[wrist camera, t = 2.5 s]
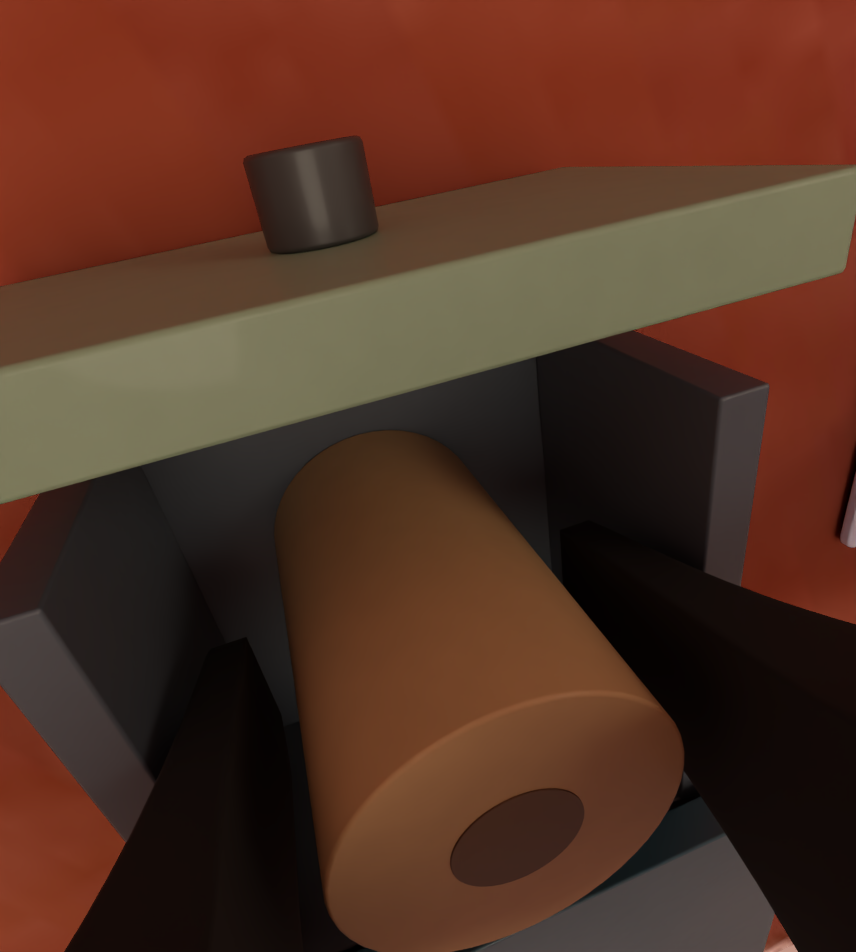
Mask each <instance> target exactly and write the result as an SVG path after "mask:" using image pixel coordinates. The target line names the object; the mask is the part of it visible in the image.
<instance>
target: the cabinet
mask: <svg viewBox="0 0 856 952" xmlns="http://www.w3.org/2000/svg"><path fill="white" fill-rule="evenodd" d="M774 914H775V913H774V911H773V909H772V908H771V906H770V904H769V903H768V901H767V899H766V898H765V896H764V894H763V893H762V891H761V889H760V888H759V886H758V884H757V883H756V881H755V880H754V878H753V877H752V875H751V873H750V872H749V870H748V869H747V867H746V865H745V864H744V862H743V861H742V859H741V858H740V856H739V854H738V853H737V851H736V850H735V848H734V847H733V845H732V843H731V842H730V840H729V839H728V837H727V835H726V834H725V832H724V831H723V829H722V828H721V826H720V825H719V823H718V822H717V820H716V819H715V817H714V815H713V814H712V812H711V811H710V809H709V808H708V806H707V805H706V803H705V802H704V800H703V799H702V797H701V796H700V797H698V798H696V799H693V800H691V801H689V802H687V803H685V804H682V805H680V806H678V807H676V808H673V809H671V810H669V811H667V813H666V815H665V816H664V818H663V819H662V821H661V823H660V824H659V825H658V827H657V828H656V829H655V831H654V832H653V833H652V835H651V836H650V837H649V839H648V840H647V841H646V842H645V843H644V844H643V845H642V846H641V848H640V849H639V850H638V851H637V852H636V853H635V854H634V855H633V856H632V857H631V858H630V859H629V860H628V861H627V862H626V863H625V864H624V865H623V866H622V867H621V868H619V869H618V870H617V871H616V872H615V873H614V874H612V875H611V876H610V877H609V878H608V879H606V880H605V881H604V882H603V883H601V884H600V885H599V886H597V887H596V888H595V889H593V890H592V891H591V892H589V893H588V894H586V895H585V896H583V897H582V898H580V899H579V900H577V901H576V902H574V903H573V904H571V905H570V906H568V907H566V908H565V909H563V910H561V911H559V912H558V913H556V914H554V915H552V916H551V917H549V918H547V919H545V920H543V921H541V922H539V923H537V924H535V925H533V926H530V927H528V928H526V929H524V930H521V931H519V932H517V933H514V934H512V935H509V936H506V937H504V938H501V939H498V940H495V941H492V942H489V943H486V944H482V945H479V946H475V947H472V948H467V949H463V950H458V951H453V952H763V951H764V948H765V944H766V941H767V937H768V934H769V931H770V927H771V924H772V921H773V917H774ZM356 952H378V951H375V950H372V949H369V948H366V947H365V948H363V949H360V950H358V951H356Z"/></svg>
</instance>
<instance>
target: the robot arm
mask: <svg viewBox="0 0 856 952" xmlns="http://www.w3.org/2000/svg"><path fill="white" fill-rule="evenodd" d="M840 541H841V543H843V544H845V545H846V546H848V547H851V548H853V547H856V473H855V477H854V481H853V485H852V489H851V493H850V497H849V501H848V505H847V509H846V513H845V517H844V522H843V526H842V530H841V534H840ZM560 543H561V560H562V577H563V586H564V587H565V589H566V590H567V591H568V592H569V593H570V595H571V596H572V597H573V598H574V600H575V601H576V602H577V603H578V604H579V606H580V607H581V608H582V609H583V611H584V612H585V613H586V614H587V615H588V617H589V618H590V619H591V620H592V622H593V623H594V624H595V625H596V627H597V628H598V629H599V630H600V631H601V633H602V634H603V635H604V636H605V638H606V639H607V640H608V641H609V642H610V644H611V645H612V646H613V647H614V649H615V650H616V651H617V652H618V653H619V655H620V656H621V657H622V658H623V660H624V661H625V662H626V663H627V664H628V666H629V667H630V668H631V669H632V671H633V672H634V673H635V674H636V675H637V677H638V678H639V679H640V680H641V682H642V683H643V684H644V685H645V686H646V688H647V689H648V690H649V691H650V693H651V694H652V695H653V696H654V697H655V699H656V700H657V701H658V702H659V704H660V705H661V706H662V707H663V709H664V710H665V711H666V712H667V713H668V715H669V716H670V717H671V718H672V720H673V721H674V722H675V724H676V726H677V728H678V730H679V732H680V734H681V738H682V742H683V747H684V769H683V771H684V772H685V773H686V775H687V776H688V778H689V779H690V781H691V782H692V784H693V785H694V787H695V788H696V790H697V791H698V793H699V794H700V796H701V797H702V799H703V800H704V802H705V803H706V805H707V806H708V808H709V809H710V811H711V812H712V814H713V815H714V817H715V819H716V820H717V822H718V823H719V825H720V826H721V828H722V829H723V831H724V832H725V834H726V835H727V837H728V839H729V840H730V842H731V843H732V845H733V847H734V848H735V850H736V851H737V853H738V854H739V856H740V858H741V859H742V861H743V862H744V864H745V865H746V867H747V869H748V870H749V872H750V873H751V875H752V877H753V878H754V880H755V881H756V883H757V884H758V886H759V888H760V889H761V891H762V893H763V894H764V896H765V898H766V899H767V901H768V903H769V904H770V906H771V908H772V909H773V911H774V913H775V914H776V916H777V918H778V919H779V921H780V923H781V924H782V926H783V928H784V929H785V931H786V933H787V934H788V936H789V937H790V939H791V941H792V942H793V944H794V946H795V947H796V949H797V951H798V952H856V624H852V623H849V622H845V621H842V620H838V619H835V618H831V617H828V616H825V615H822V614H819V613H816V612H812V611H809V610H806V609H803V608H800V607H797V606H793V605H790V604H787V603H784V602H781V601H778V600H775V599H773V598H770V597H767V596H764V595H761V594H759V593H756V592H754V591H751V590H748V589H746V588H743V587H740V586H738V585H735V584H733V583H730V582H727V581H725V580H722V579H720V578H717V577H715V576H713V575H710V574H708V573H705V572H703V571H701V570H698V569H696V568H694V567H691V566H689V565H687V564H684V563H682V562H680V561H678V560H675V559H673V558H671V557H669V556H666V555H664V554H662V553H660V552H658V551H655V550H653V549H651V548H649V547H647V546H645V545H642V544H640V543H638V542H636V541H634V540H632V539H630V538H627V537H625V536H623V535H621V534H619V533H617V532H614V531H612V530H610V529H608V528H606V527H603V526H601V525H599V524H597V523H594V522H592V521H590V520H587V521H585V522H582V523H579V524H576V525H573V526H570V527H567V528H564V529H561V530H560ZM64 952H304V951H303V942H302V932H301V921H300V910H299V892H298V875H297V857H296V840H295V822H294V806H293V790H292V775H291V767H290V761H289V755H288V749H287V743H286V737H285V732H284V726H283V721H282V715H281V712H280V710H279V708H278V706H277V704H276V701H275V699H274V697H273V695H272V692H271V690H270V688H269V686H268V684H267V681H266V679H265V677H264V675H263V673H262V670H261V668H260V666H259V664H258V661H257V659H256V657H255V655H254V653H253V650H252V648H251V646H250V644H249V641H248V639H247V637H244V638H241V639H238V640H235V641H232V642H229V643H226V644H223V645H220V646H217V647H215V648H212V649H210V650H209V652H208V654H207V655H206V657H205V660H204V663H203V666H202V669H201V671H200V674H199V677H198V680H197V683H196V685H195V688H194V691H193V693H192V696H191V699H190V701H189V704H188V706H187V709H186V712H185V714H184V717H183V719H182V722H181V724H180V727H179V729H178V731H177V734H176V736H175V739H174V741H173V743H172V746H171V748H170V750H169V753H168V755H167V757H166V760H165V762H164V764H163V767H162V769H161V771H160V774H159V776H158V778H157V780H156V782H155V784H154V786H153V789H152V791H151V793H150V795H149V797H148V799H147V801H146V803H145V805H144V807H143V809H142V811H141V814H140V816H139V818H138V820H137V822H136V824H135V826H134V828H133V830H132V832H131V834H130V836H129V838H128V840H127V842H126V844H125V846H124V848H123V850H122V852H121V853H120V855H119V857H118V859H117V861H116V863H115V865H114V867H113V869H112V870H111V872H110V874H109V876H108V878H107V880H106V881H105V883H104V885H103V887H102V888H101V890H100V892H99V894H98V896H97V897H96V899H95V901H94V903H93V904H92V906H91V908H90V910H89V911H88V913H87V915H86V917H85V918H84V920H83V922H82V924H81V925H80V927H79V928H78V930H77V932H76V933H75V935H74V937H73V938H72V940H71V942H70V943H69V945H68V946H67V948H66V950H65V951H64Z"/></svg>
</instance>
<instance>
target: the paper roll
mask: <svg viewBox="0 0 856 952" xmlns="http://www.w3.org/2000/svg"><path fill="white" fill-rule="evenodd" d="M274 539H275V548H276V555H277V562H278V569H279V577H280V584H281V591H282V598H283V606H284V613H285V620H286V628H287V635H288V642H289V649H290V657H291V664H292V671H293V678H294V686H295V693H296V700H297V708H298V715H299V722H300V729H301V737H302V744H303V751H304V758H305V766H306V773H307V780H308V787H309V795H310V802H311V809H312V817H313V824H314V831H315V838H316V846H317V853H318V860H319V867H320V875H321V882H322V889H323V897H324V903H325V905H326V908H327V911H328V913H329V916H330V918H331V919H332V921H333V922H334V923H335V925H336V926H337V928H338V929H339V930H340V931H341V932H342V933H343V934H344V935H345V936H347V937H348V938H349V939H350V940H352V941H354V942H356V943H358V944H359V945H361V946H363V947H366V948H369V949H372V950H375V951H378V952H453V951H458V950H463V949H467V948H472V947H475V946H479V945H482V944H486V943H489V942H492V941H495V940H498V939H501V938H504V937H506V936H509V935H512V934H514V933H517V932H519V931H521V930H524V929H526V928H528V927H530V926H533V925H535V924H537V923H539V922H541V921H543V920H545V919H547V918H549V917H551V916H552V915H554V914H556V913H558V912H559V911H561V910H563V909H565V908H566V907H568V906H570V905H571V904H573V903H574V902H576V901H577V900H579V899H580V898H582V897H583V896H585V895H586V894H588V893H589V892H591V891H592V890H593V889H595V888H596V887H597V886H599V885H600V884H601V883H603V882H604V881H605V880H606V879H608V878H609V877H610V876H611V875H612V874H614V873H615V872H616V871H617V870H618V869H619V868H621V867H622V866H623V865H624V864H625V863H626V862H627V861H628V860H629V859H630V858H631V857H632V856H633V855H634V854H635V853H636V852H637V851H638V850H639V849H640V848H641V846H642V845H643V844H644V843H645V842H646V841H647V840H648V839H649V837H650V836H651V835H652V833H653V832H654V831H655V829H656V828H657V827H658V825H659V824H660V823H661V821H662V819H663V818H664V816H665V815H666V813H667V811H668V810H669V808H670V806H671V804H672V802H673V800H674V798H675V796H676V794H677V791H678V788H679V785H680V782H681V779H682V774H683V769H684V747H683V742H682V738H681V734H680V732H679V730H678V728H677V726H676V724H675V722H674V721H673V720H672V718H671V717H670V716H669V715H668V713H667V712H666V711H665V710H664V709H663V707H662V706H661V705H660V704H659V702H658V701H657V700H656V699H655V697H654V696H653V695H652V694H651V693H650V691H649V690H648V689H647V688H646V686H645V685H644V684H643V683H642V682H641V680H640V679H639V678H638V677H637V675H636V674H635V673H634V672H633V671H632V669H631V668H630V667H629V666H628V664H627V663H626V662H625V661H624V660H623V658H622V657H621V656H620V655H619V653H618V652H617V651H616V650H615V649H614V647H613V646H612V645H611V644H610V642H609V641H608V640H607V639H606V638H605V636H604V635H603V634H602V633H601V631H600V630H599V629H598V628H597V627H596V625H595V624H594V623H593V622H592V620H591V619H590V618H589V617H588V615H587V614H586V613H585V612H584V611H583V609H582V608H581V607H580V606H579V604H578V603H577V602H576V601H575V600H574V598H573V597H572V596H571V595H570V593H569V592H568V591H567V590H566V589H565V587H564V586H563V585H562V584H561V582H560V581H559V580H558V579H557V578H556V576H555V575H554V574H553V573H552V571H551V570H550V569H549V568H548V567H547V565H546V564H545V563H544V562H543V560H542V559H541V558H540V557H539V556H538V554H537V553H536V552H535V551H534V549H533V548H532V547H531V546H530V544H529V543H528V542H527V541H526V540H525V538H524V537H523V536H522V535H521V533H520V532H519V531H518V530H517V529H516V527H515V526H514V525H513V524H512V522H511V521H510V520H509V519H508V518H507V516H506V515H505V514H504V513H503V511H502V510H501V509H500V508H499V507H498V505H497V504H496V503H495V502H494V500H493V499H492V498H491V497H490V496H489V494H488V493H487V492H486V491H485V489H484V488H483V487H482V486H481V485H480V483H479V482H478V481H477V480H476V478H475V477H474V476H473V475H472V473H471V472H470V471H469V470H468V469H467V467H466V466H465V465H464V464H463V462H462V461H461V460H460V459H459V458H458V456H456V455H455V454H454V453H453V452H452V451H451V450H450V449H449V448H447V447H446V446H444V445H442V444H441V443H439V442H438V441H435V440H433V439H431V438H429V437H427V436H423V435H420V434H417V433H412V432H406V431H395V430H384V431H374V432H368V433H364V434H359V435H356V436H353V437H350V438H347V439H344V440H342V441H340V442H338V443H336V444H334V445H332V446H330V447H328V448H327V449H325V450H324V451H322V452H321V453H319V454H318V455H316V456H315V457H314V458H313V459H312V460H310V461H309V462H308V463H307V464H306V465H305V466H304V467H303V468H302V469H301V470H300V471H299V472H298V473H297V475H296V476H295V477H294V479H293V480H292V481H291V483H290V484H289V486H288V487H287V489H286V491H285V493H284V495H283V497H282V499H281V502H280V504H279V507H278V510H277V514H276V519H275V527H274Z"/></svg>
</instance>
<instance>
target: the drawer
mask: <svg viewBox="0 0 856 952" xmlns="http://www.w3.org/2000/svg"><path fill="white" fill-rule="evenodd" d="M243 164H244V168H245V171H246V175H247V178H248V182H249V185H250V189H251V192H252V195H253V199H254V202H255V206H256V209H257V213H258V216H259V220H260V223H261V227H262V230H263V231H260V232H255V233H251V234H246V235H241V236H237V237H232V238H227V239H222V240H218V241H213V242H208V243H204V244H199V245H194V246H189V247H185V248H180V249H175V250H171V251H166V252H161V253H156V254H152V255H147V256H142V257H138V258H133V259H128V260H123V261H119V262H114V263H109V264H105V265H100V266H95V267H90V268H86V269H81V270H76V271H72V272H67V273H62V274H57V275H53V276H48V277H43V278H39V279H34V280H29V281H24V282H20V283H15V284H10V285H6V286H1V287H0V504H3V503H6V502H10V501H14V500H17V499H21V498H25V497H28V496H32V495H35V494H39V493H40V494H39V496H38V498H37V499H36V501H35V503H34V505H33V506H32V508H31V510H30V512H29V513H28V515H27V517H26V519H25V521H24V522H23V524H22V526H21V528H20V529H19V531H18V533H17V535H16V536H15V538H14V540H13V542H12V543H11V545H10V547H9V549H8V550H7V552H6V554H5V556H4V557H3V559H2V561H1V563H0V685H1V687H2V688H3V689H4V690H5V692H6V693H7V694H8V695H9V697H10V698H11V699H12V700H13V702H14V703H15V704H16V705H17V707H18V708H19V709H20V710H21V712H22V713H23V714H24V715H25V717H26V718H27V719H28V720H29V722H30V723H31V724H32V725H33V727H34V728H35V729H36V730H37V732H38V733H39V734H40V735H41V737H42V738H43V739H44V741H45V742H46V743H47V744H48V746H49V747H50V748H51V749H52V751H53V752H54V753H55V754H56V756H57V757H58V758H59V759H60V761H61V762H62V763H63V764H64V766H65V767H66V768H67V769H68V771H69V772H70V773H71V774H72V776H73V777H74V778H75V779H76V781H77V782H78V783H79V784H80V786H81V787H82V788H83V789H84V791H85V792H86V793H87V794H88V796H89V797H90V798H91V799H92V801H93V802H94V803H95V804H96V806H97V807H98V808H99V809H100V811H101V812H102V813H103V814H104V816H105V817H106V818H107V819H108V821H109V822H110V823H111V824H112V826H113V827H114V828H115V830H116V831H117V832H118V833H119V835H120V836H121V837H122V838H123V840H124V841H125V842H127V840H128V838H129V836H130V834H131V832H132V830H133V828H134V826H135V824H136V822H137V820H138V818H139V816H140V814H141V811H142V809H143V807H144V805H145V803H146V801H147V799H148V797H149V795H150V793H151V791H152V789H153V786H154V784H155V782H156V780H157V778H158V776H159V774H160V771H161V769H162V767H163V764H164V762H165V760H166V757H167V755H168V753H169V750H170V748H171V746H172V743H173V741H174V739H175V736H176V734H177V731H178V729H179V727H180V724H181V722H182V719H183V717H184V714H185V712H186V709H187V706H188V704H189V701H190V699H191V696H192V693H193V691H194V688H195V685H196V683H197V680H198V677H199V674H200V671H201V669H202V666H203V663H204V660H205V657H206V655H207V654H208V652H209V650H210V649H212V648H215V647H217V646H220V645H223V644H226V643H229V642H232V641H235V640H238V639H241V638H244V637H247V639H248V641H249V644H250V646H251V648H252V650H253V653H254V655H255V657H256V659H257V661H258V664H259V666H260V668H261V670H262V673H263V675H264V677H265V679H266V681H267V684H268V686H269V688H270V690H271V692H272V695H273V697H274V699H275V701H276V704H277V706H278V708H279V710H280V712H281V715H282V721H283V726H284V732H285V737H286V743H287V749H288V755H289V761H290V767H291V775H292V790H293V806H294V822H295V840H296V857H297V875H298V892H299V910H300V921H301V932H302V942H303V951H304V952H356V951H358V950H360V949H363V948H365V947H363V946H361V945H359V944H358V943H356V942H354V941H352V940H350V939H349V938H348V937H347V936H345V935H344V934H343V933H342V932H341V931H340V930H339V929H338V928H337V926H336V925H335V923H334V922H333V921H332V919H331V918H330V916H329V913H328V911H327V908H326V905H325V903H324V897H323V889H322V882H321V875H320V867H319V860H318V853H317V846H316V838H315V831H314V824H313V817H312V809H311V802H310V795H309V787H308V780H307V773H306V766H305V758H304V751H303V744H302V737H301V729H300V722H299V715H298V708H297V700H296V693H295V686H294V678H293V671H292V664H291V657H290V649H289V642H288V635H287V628H286V620H285V613H284V606H283V598H282V591H281V584H280V577H279V569H278V562H277V555H276V548H275V539H274V527H275V519H276V514H277V510H278V507H279V504H280V502H281V499H282V497H283V495H284V493H285V491H286V489H287V487H288V486H289V484H290V483H291V481H292V480H293V479H294V477H295V476H296V475H297V473H298V472H299V471H300V470H301V469H302V468H303V467H304V466H305V465H306V464H307V463H308V462H309V461H310V460H312V459H313V458H314V457H315V456H316V455H318V454H319V453H321V452H322V451H324V450H325V449H327V448H328V447H330V446H332V445H334V444H336V443H338V442H340V441H342V440H344V439H347V438H350V437H353V436H356V435H359V434H364V433H368V432H374V431H384V430H395V431H406V432H412V433H417V434H420V435H423V436H427V437H429V438H431V439H433V440H435V441H438V442H439V443H441V444H442V445H444V446H446V447H447V448H449V449H450V450H451V451H452V452H453V453H454V454H455V455H456V456H458V458H459V459H460V460H461V461H462V462H463V464H464V465H465V466H466V467H467V469H468V470H469V471H470V472H471V473H472V475H473V476H474V477H475V478H476V480H477V481H478V482H479V483H480V485H481V486H482V487H483V488H484V489H485V491H486V492H487V493H488V494H489V496H490V497H491V498H492V499H493V500H494V502H495V503H496V504H497V505H498V507H499V508H500V509H501V510H502V511H503V513H504V514H505V515H506V516H507V518H508V519H509V520H510V521H511V522H512V524H513V525H514V526H515V527H516V529H517V530H518V531H519V532H520V533H521V535H522V536H523V537H524V538H525V540H526V541H527V542H528V543H529V544H530V546H531V547H532V548H533V549H534V551H535V552H536V553H537V554H538V556H539V557H540V558H541V559H542V560H543V562H544V563H545V564H546V565H547V567H548V568H549V569H550V570H551V571H552V573H553V574H554V575H555V576H556V578H557V579H558V580H559V581H560V582H561V584H562V585H563V577H562V560H561V543H560V530H561V529H564V528H567V527H570V526H573V525H576V524H579V523H582V522H585V521H587V520H590V521H592V522H594V523H597V524H599V525H601V526H603V527H606V528H608V529H610V530H612V531H614V532H617V533H619V534H621V535H623V536H625V537H627V538H630V539H632V540H634V541H636V542H638V543H640V544H642V545H645V546H647V547H649V548H651V549H653V550H655V551H658V552H660V553H662V554H664V555H666V556H669V557H671V558H673V559H675V560H678V561H680V562H682V563H684V564H687V565H689V566H691V567H694V568H696V569H698V570H701V571H703V572H705V573H708V574H710V575H713V576H715V577H717V578H720V579H722V580H725V581H727V582H730V583H733V584H735V585H738V586H740V587H741V580H742V573H743V566H744V559H745V552H746V545H747V538H748V531H749V524H750V517H751V511H752V504H753V497H754V490H755V483H756V476H757V469H758V462H759V455H760V448H761V441H762V435H763V428H764V421H765V414H766V407H767V400H768V393H769V384H768V383H765V382H763V381H760V380H758V379H755V378H753V377H750V376H748V375H745V374H743V373H740V372H737V371H735V370H732V369H730V368H727V367H725V366H722V365H720V364H717V363H714V362H712V361H709V360H707V359H704V358H702V357H699V356H697V355H694V354H692V353H689V352H686V351H684V350H681V349H679V348H676V347H674V346H671V345H669V344H666V343H663V342H661V341H658V340H656V339H653V338H651V337H648V336H646V335H643V334H641V333H638V332H635V331H633V330H636V329H639V328H643V327H647V326H650V325H654V324H657V323H661V322H665V321H668V320H672V319H676V318H679V317H683V316H687V315H690V314H694V313H698V312H701V311H705V310H708V309H712V308H716V307H719V306H723V305H727V304H730V303H734V302H738V301H741V300H745V299H748V298H752V297H756V296H759V295H763V294H767V293H770V292H774V291H778V290H781V289H785V288H788V287H792V286H796V285H799V284H803V283H807V282H810V281H814V280H818V279H821V278H825V277H828V276H832V275H836V274H839V273H842V272H843V271H844V269H845V267H846V262H847V257H848V252H849V247H850V242H851V237H852V232H853V226H854V221H855V216H856V165H761V166H641V167H562V168H557V169H552V170H548V171H543V172H538V173H534V174H529V175H524V176H519V177H515V178H510V179H505V180H501V181H496V182H491V183H486V184H482V185H477V186H472V187H468V188H463V189H458V190H453V191H449V192H444V193H439V194H435V195H430V196H425V197H420V198H416V199H411V200H406V201H402V202H397V203H392V204H387V205H383V206H378V207H375V204H374V199H373V194H372V188H371V183H370V178H369V173H368V168H367V162H366V157H365V152H364V147H363V141H362V139H361V138H360V137H359V136H349V137H343V138H337V139H332V140H326V141H321V142H315V143H310V144H305V145H299V146H294V147H289V148H284V149H279V150H273V151H268V152H263V153H259V154H254V155H249V156H247V157H245V158H244V162H243ZM698 797H700V794H699V793H698V791H697V790H696V788H695V787H694V785H693V784H692V782H691V781H690V779H689V778H688V776H687V775H686V773H685V772H684V771H683V774H682V779H681V782H680V785H679V788H678V791H677V794H676V796H675V798H674V800H673V802H672V804H671V806H670V808H669V810H671V809H673V808H676V807H678V806H680V805H682V804H685V803H687V802H689V801H691V800H693V799H696V798H698ZM669 810H668V811H669Z"/></svg>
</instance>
